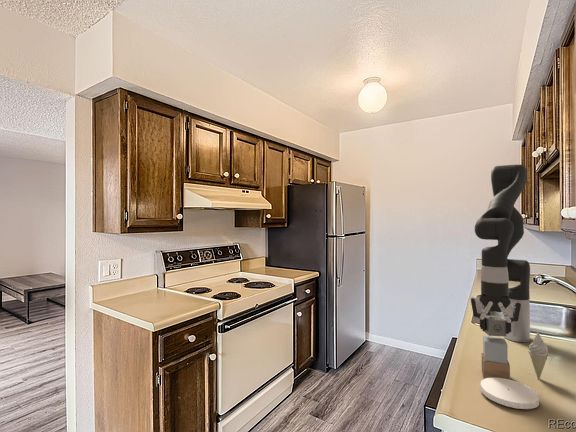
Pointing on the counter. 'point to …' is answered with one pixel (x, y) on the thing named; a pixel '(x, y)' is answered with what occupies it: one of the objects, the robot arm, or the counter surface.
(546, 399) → the counter surface
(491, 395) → the plastic lid
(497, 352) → the tower top
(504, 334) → the dice cube
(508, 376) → the tower base
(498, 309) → the robot arm
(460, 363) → the counter surface
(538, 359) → the ice cream cone
